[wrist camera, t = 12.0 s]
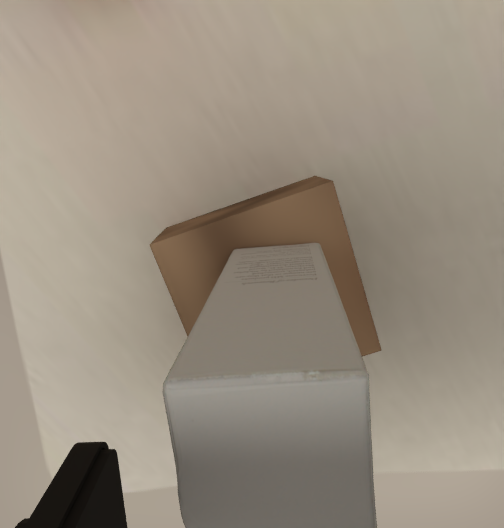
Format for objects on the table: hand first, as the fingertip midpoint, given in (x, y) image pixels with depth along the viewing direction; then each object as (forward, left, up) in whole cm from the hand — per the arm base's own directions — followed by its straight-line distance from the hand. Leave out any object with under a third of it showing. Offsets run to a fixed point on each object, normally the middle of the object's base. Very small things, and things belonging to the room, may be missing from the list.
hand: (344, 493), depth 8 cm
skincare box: (0, 0, -12) cm, 12 cm away
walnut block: (+1, 0, -17) cm, 17 cm away
